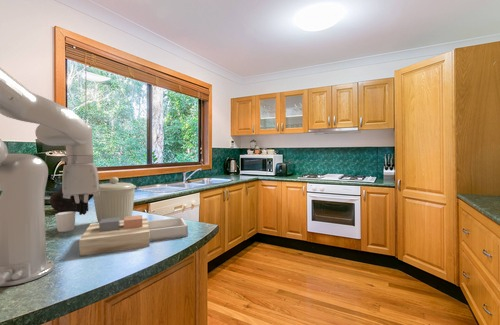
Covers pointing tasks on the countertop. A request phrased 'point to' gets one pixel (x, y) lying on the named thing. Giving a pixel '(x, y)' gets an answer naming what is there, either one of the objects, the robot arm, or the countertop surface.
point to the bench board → (113, 239)
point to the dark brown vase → (63, 201)
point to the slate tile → (109, 224)
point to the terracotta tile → (133, 221)
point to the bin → (167, 229)
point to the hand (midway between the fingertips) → (83, 213)
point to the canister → (114, 200)
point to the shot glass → (65, 221)
